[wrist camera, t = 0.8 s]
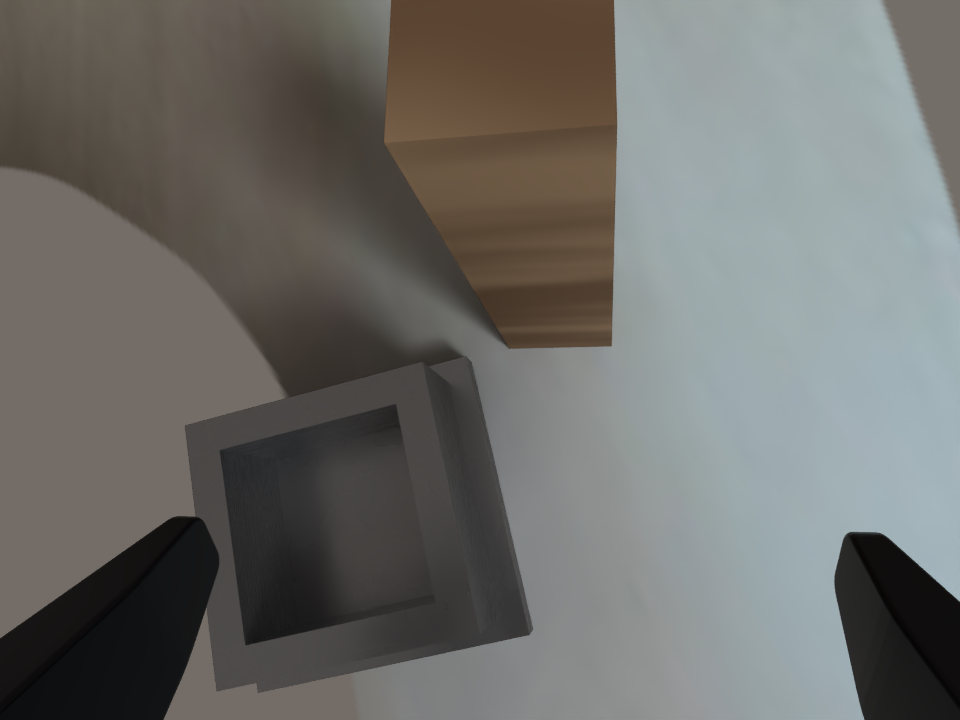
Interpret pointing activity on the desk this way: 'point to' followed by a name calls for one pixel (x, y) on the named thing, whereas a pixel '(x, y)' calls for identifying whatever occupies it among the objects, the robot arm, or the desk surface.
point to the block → (514, 154)
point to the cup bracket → (355, 528)
